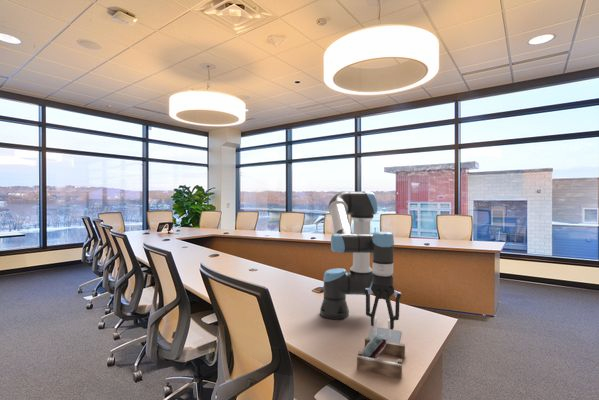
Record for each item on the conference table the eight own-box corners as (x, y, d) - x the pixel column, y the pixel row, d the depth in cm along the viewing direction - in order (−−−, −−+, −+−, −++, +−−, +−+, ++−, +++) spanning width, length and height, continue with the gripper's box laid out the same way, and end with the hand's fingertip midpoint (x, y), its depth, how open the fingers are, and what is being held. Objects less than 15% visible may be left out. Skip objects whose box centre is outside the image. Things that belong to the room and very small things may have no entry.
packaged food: (368, 360, 119) (358, 351, 120) (388, 337, 120) (378, 328, 121) (369, 368, 111) (359, 358, 112) (391, 343, 111) (380, 333, 112)
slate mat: (366, 341, 132) (366, 340, 132) (372, 327, 147) (372, 326, 147) (398, 347, 127) (398, 346, 127) (401, 332, 142) (401, 331, 142)
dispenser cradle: (357, 369, 110) (357, 355, 110) (366, 347, 127) (366, 335, 127) (401, 379, 105) (401, 364, 105) (405, 355, 121) (405, 342, 121)
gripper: (357, 273, 115) (356, 336, 116) (406, 278, 109) (406, 345, 109) (361, 269, 122) (360, 328, 123) (408, 273, 116) (407, 336, 116)
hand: (382, 335), depth 116 cm, fingers closed on packaged food, 4 cm apart
